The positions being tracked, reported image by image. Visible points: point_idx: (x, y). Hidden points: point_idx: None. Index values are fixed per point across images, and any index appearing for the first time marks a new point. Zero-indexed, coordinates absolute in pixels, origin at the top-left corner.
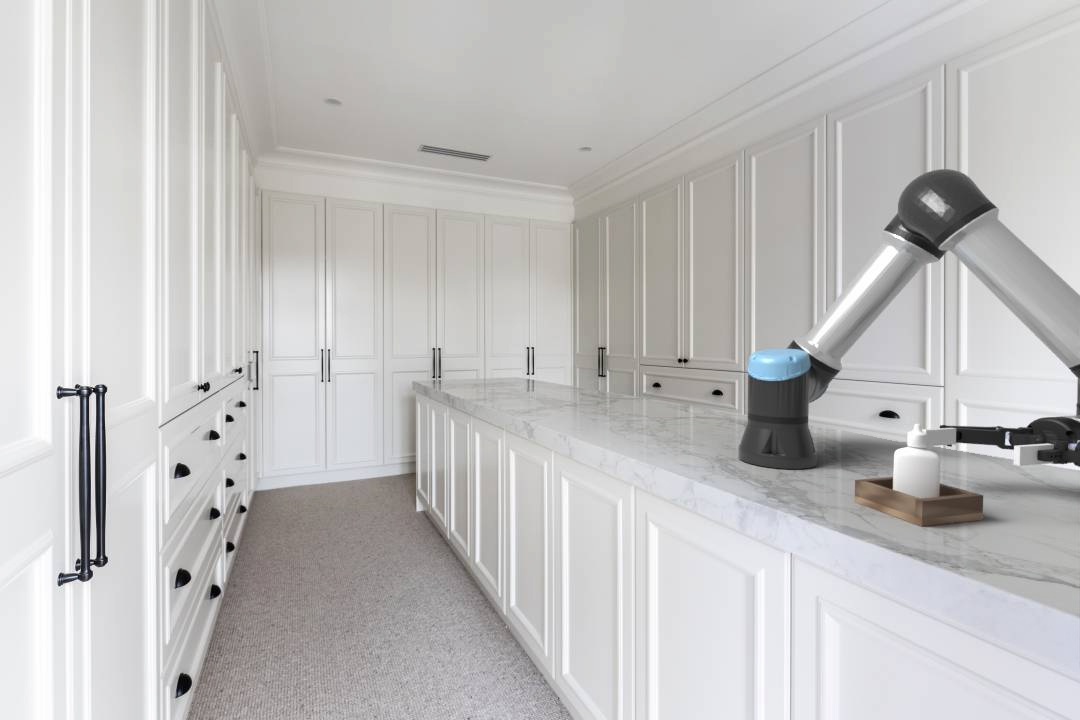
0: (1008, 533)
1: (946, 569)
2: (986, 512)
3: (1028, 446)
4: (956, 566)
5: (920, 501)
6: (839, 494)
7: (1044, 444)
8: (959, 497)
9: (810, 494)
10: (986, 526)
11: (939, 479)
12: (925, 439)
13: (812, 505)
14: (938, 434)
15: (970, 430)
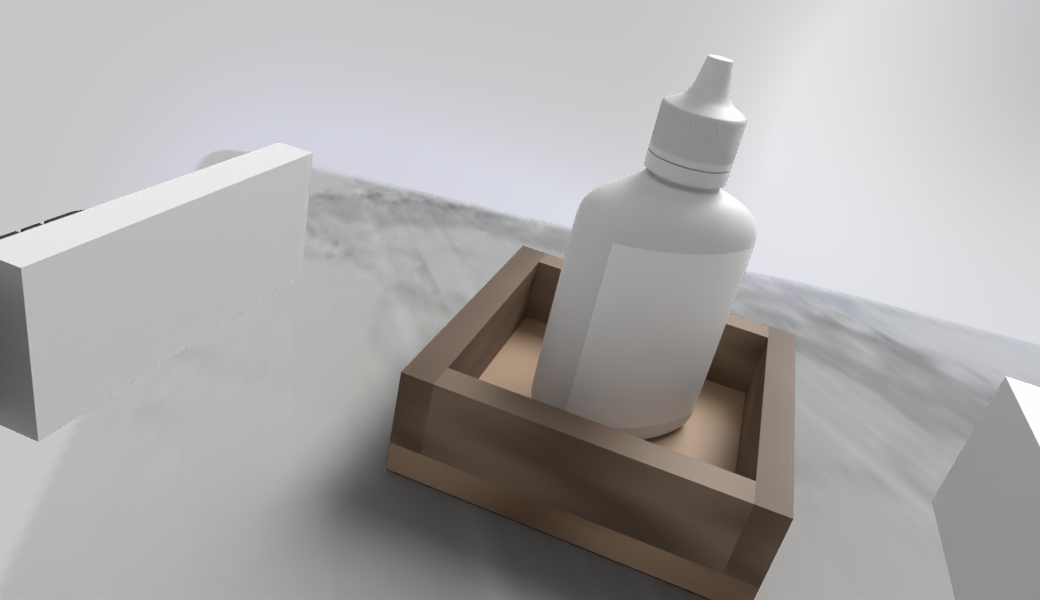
0: (290, 382)
1: (383, 186)
2: (391, 592)
3: (227, 162)
4: (372, 196)
5: (528, 250)
6: (863, 459)
7: (79, 226)
8: (461, 311)
9: (884, 407)
10: (360, 408)
11: (556, 293)
12: (656, 121)
13: None
14: (1022, 519)
15: None
